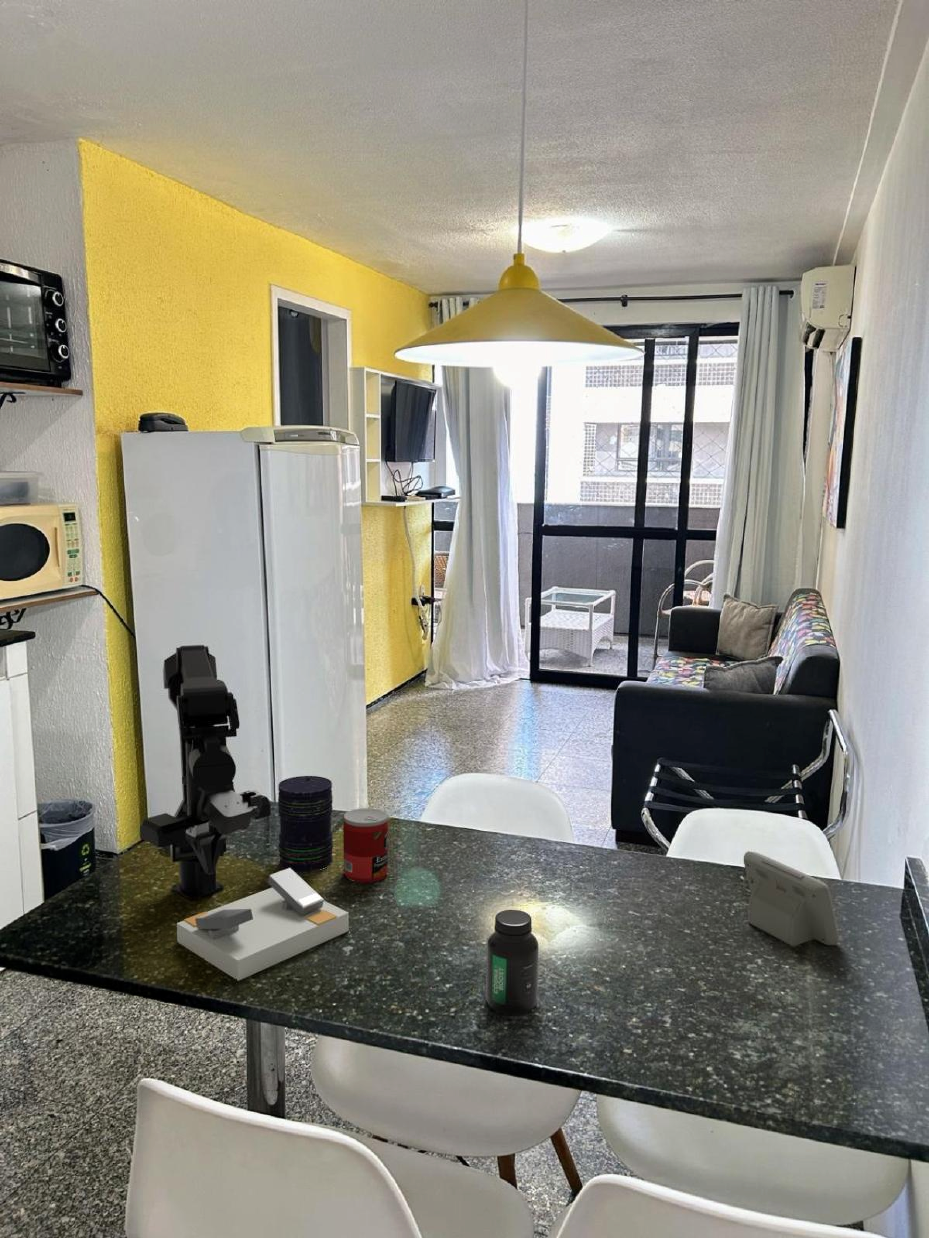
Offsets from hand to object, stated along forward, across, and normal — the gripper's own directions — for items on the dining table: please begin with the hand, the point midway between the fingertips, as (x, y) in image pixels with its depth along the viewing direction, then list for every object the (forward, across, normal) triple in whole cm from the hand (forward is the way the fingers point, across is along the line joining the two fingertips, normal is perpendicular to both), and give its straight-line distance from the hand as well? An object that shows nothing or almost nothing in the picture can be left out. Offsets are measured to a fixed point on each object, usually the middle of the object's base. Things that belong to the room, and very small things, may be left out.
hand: (209, 872), depth 132 cm
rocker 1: (+6, 0, -3) cm, 7 cm away
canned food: (+12, +33, +3) cm, 35 cm away
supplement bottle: (+12, +19, -42) cm, 48 cm away
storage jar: (+12, +29, +15) cm, 35 cm away
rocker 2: (+6, +13, -3) cm, 15 cm away
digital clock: (+12, +65, -61) cm, 90 cm away
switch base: (+11, +7, -3) cm, 14 cm away
